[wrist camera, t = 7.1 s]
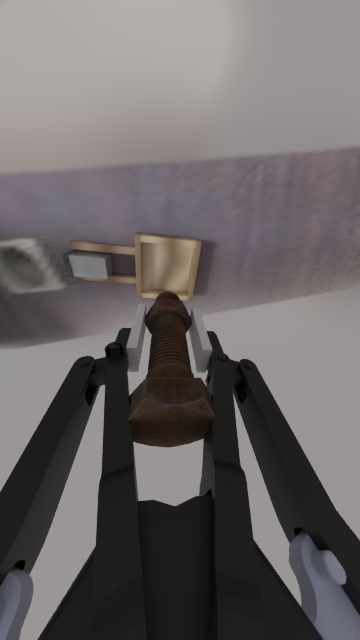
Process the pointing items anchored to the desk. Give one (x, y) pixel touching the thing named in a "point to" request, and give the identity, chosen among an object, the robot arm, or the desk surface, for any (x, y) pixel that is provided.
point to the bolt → (169, 383)
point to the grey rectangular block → (88, 264)
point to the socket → (155, 264)
